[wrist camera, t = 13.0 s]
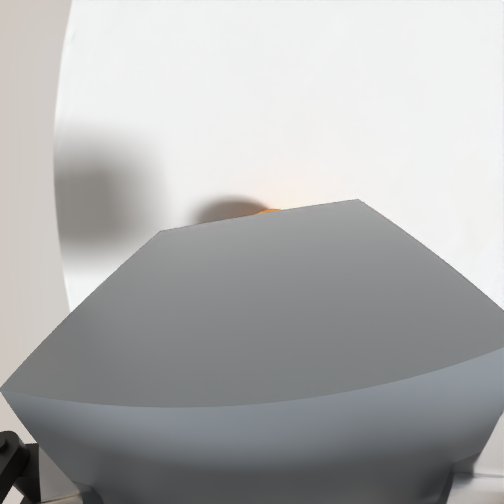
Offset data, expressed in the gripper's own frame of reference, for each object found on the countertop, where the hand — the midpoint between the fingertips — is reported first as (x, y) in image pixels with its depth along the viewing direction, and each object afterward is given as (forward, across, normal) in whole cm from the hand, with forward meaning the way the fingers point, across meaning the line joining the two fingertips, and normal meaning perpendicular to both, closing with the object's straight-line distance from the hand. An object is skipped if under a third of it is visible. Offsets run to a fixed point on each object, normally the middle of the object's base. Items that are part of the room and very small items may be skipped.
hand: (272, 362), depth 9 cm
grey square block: (+4, 0, 0) cm, 4 cm away
